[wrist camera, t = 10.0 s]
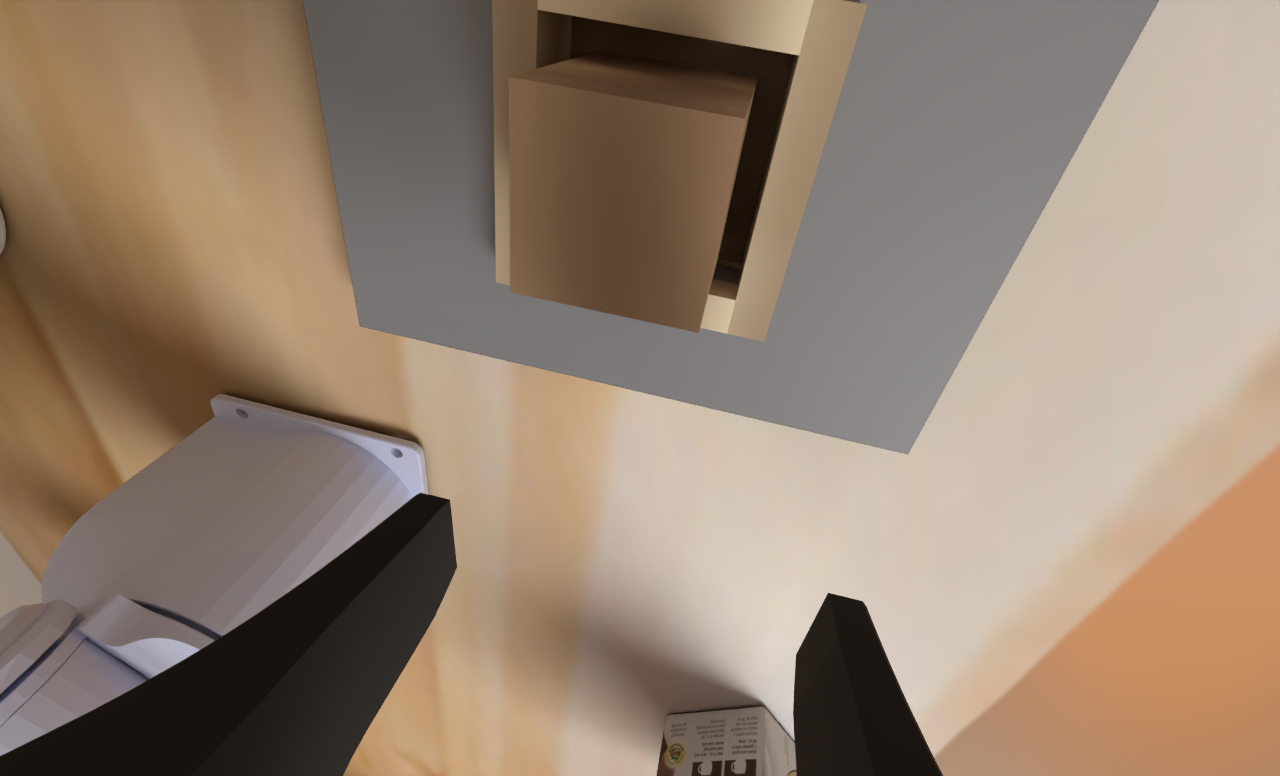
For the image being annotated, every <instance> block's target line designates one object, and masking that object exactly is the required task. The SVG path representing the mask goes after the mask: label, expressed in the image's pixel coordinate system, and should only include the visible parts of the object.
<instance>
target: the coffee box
mask: <svg viewBox="0 0 1280 776" xmlns="http://www.w3.org/2000/svg"><path fill="white" fill-rule="evenodd" d="M657 776H797V771H796V754H795V743H794V742H793V741H792V740H791V738H790V737H789V736H788V735H787V734H786V732H785V731H784V730H783V729H782V728H781V727H780V725H779V724H778V723H777V722H776V720H775V719H774V718H773V717H772V716H771V714H770V713H769V712H768V711H767V710H766V709H765V707H761V706H760V707H749V708H741V709H729V710H719V711H708V712H698V713H686V714H673V715H669V716H667V718H666V721H665V726H664V732H663V739H662V745H661V752H660V758H659V764H658V770H657Z"/></svg>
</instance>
